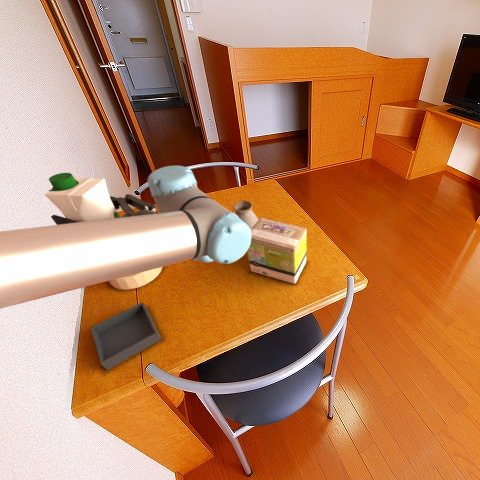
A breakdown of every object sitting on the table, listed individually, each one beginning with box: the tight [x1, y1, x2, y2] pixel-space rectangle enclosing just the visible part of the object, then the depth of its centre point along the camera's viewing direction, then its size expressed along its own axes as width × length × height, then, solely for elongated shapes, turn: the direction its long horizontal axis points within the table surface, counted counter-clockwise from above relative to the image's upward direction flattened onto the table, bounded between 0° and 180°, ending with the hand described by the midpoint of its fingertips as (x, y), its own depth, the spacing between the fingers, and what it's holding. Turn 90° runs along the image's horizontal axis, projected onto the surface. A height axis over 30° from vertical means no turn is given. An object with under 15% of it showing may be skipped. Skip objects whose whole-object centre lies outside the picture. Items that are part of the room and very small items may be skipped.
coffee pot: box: [232, 199, 260, 230], centre depth 92 cm, size 21×12×15 cm, turn 102°
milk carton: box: [44, 172, 121, 223], centre depth 64 cm, size 9×9×20 cm
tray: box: [90, 301, 162, 371], centre depth 66 cm, size 12×12×3 cm
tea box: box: [246, 216, 308, 285], centre depth 81 cm, size 15×10×15 cm, turn 72°
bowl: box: [108, 267, 163, 291], centre depth 82 cm, size 14×14×4 cm
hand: (76, 209), depth 65 cm, fingers closed on milk carton, 9 cm apart
